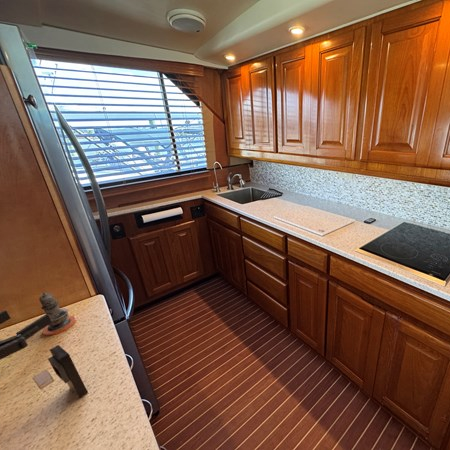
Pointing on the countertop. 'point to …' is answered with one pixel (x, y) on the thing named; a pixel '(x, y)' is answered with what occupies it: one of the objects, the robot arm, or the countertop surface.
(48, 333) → the coaster
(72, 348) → the countertop surface
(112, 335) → the countertop surface
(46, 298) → the grey buddha statue
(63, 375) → the flush panel
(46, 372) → the flush button
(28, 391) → the countertop surface
